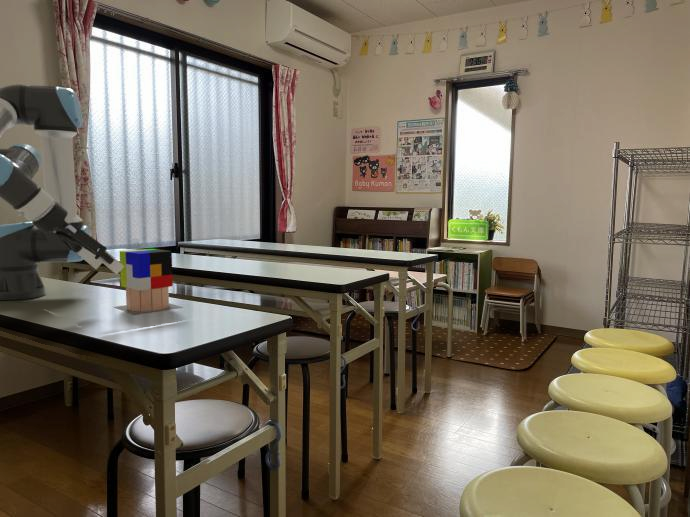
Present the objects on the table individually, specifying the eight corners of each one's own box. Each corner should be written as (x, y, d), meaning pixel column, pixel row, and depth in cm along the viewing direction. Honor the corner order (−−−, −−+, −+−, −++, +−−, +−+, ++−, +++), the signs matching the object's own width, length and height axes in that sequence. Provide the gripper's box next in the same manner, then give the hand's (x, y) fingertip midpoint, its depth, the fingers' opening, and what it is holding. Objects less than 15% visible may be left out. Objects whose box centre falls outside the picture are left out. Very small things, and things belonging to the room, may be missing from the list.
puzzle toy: (139, 290, 136) (138, 253, 134) (120, 286, 142) (119, 251, 141) (172, 286, 143) (171, 251, 142) (153, 282, 150) (152, 248, 148)
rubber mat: (113, 308, 143) (113, 306, 143) (160, 302, 153) (160, 300, 153) (134, 316, 133) (134, 315, 133) (183, 309, 143) (183, 307, 143)
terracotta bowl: (120, 307, 143) (119, 286, 142) (157, 301, 151) (157, 281, 150) (137, 313, 135) (136, 291, 135) (175, 307, 143) (175, 286, 143)
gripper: (16, 221, 129) (81, 273, 141) (48, 224, 112) (119, 284, 124) (38, 200, 132) (100, 253, 145) (73, 201, 115) (139, 261, 128)
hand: (109, 267), depth 135 cm, fingers open, 13 cm apart
